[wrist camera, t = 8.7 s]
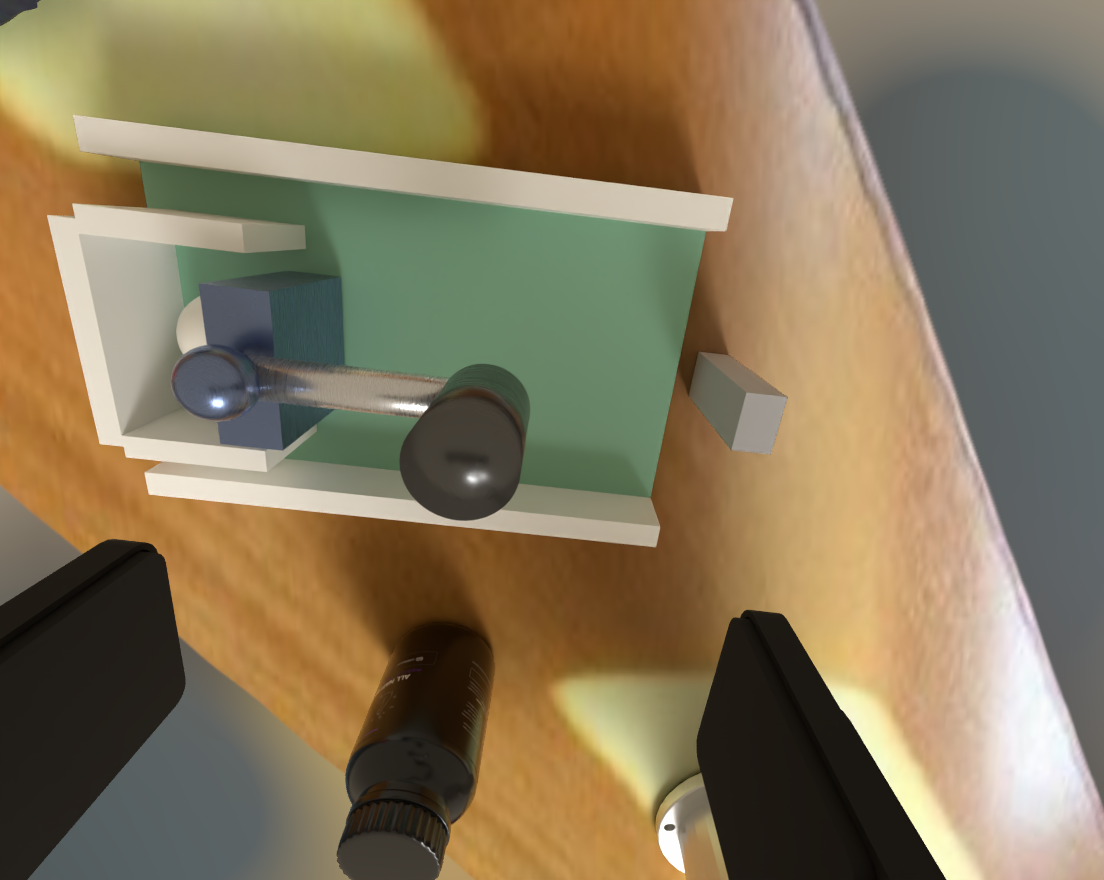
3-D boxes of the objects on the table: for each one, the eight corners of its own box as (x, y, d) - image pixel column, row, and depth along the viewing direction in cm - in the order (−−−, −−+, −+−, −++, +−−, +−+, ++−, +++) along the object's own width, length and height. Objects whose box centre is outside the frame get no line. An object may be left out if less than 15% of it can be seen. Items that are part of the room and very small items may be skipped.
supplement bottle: (402, 608, 33) (321, 800, 22) (506, 631, 33) (480, 830, 22) (386, 685, 35) (306, 894, 24) (483, 706, 36) (449, 919, 25)
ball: (183, 281, 24) (282, 288, 25) (196, 367, 25) (288, 369, 26) (155, 295, 20) (271, 301, 22) (172, 393, 22) (279, 393, 23)
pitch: (764, 211, 24) (845, 202, 17) (691, 511, 30) (729, 592, 23) (154, 134, 23) (-13, 93, 16) (203, 459, 29) (96, 528, 22)
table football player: (544, 300, 24) (531, 363, 13) (531, 421, 26) (511, 568, 15) (286, 270, 24) (29, 306, 12) (295, 395, 26) (86, 525, 14)
